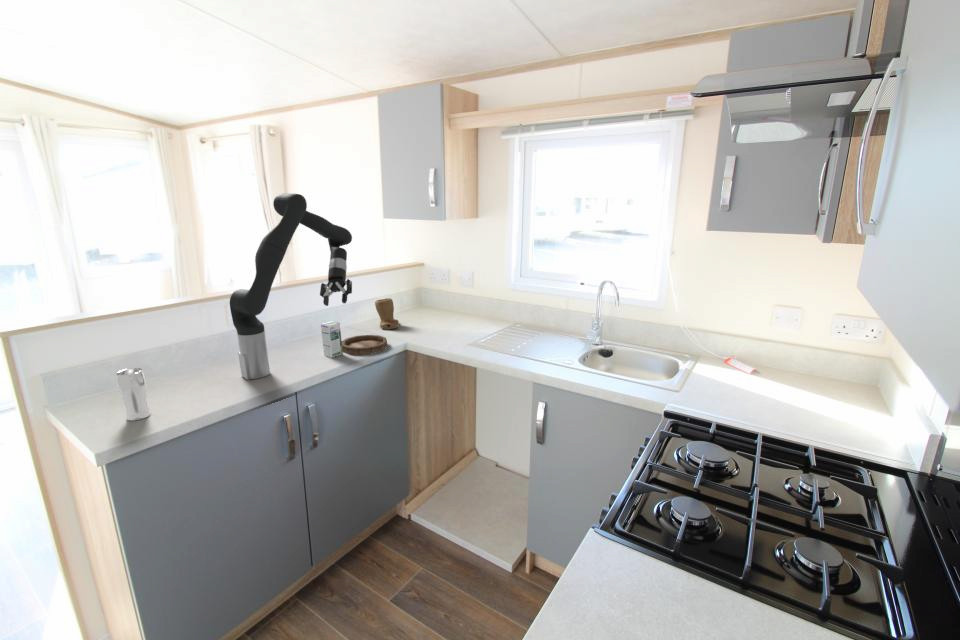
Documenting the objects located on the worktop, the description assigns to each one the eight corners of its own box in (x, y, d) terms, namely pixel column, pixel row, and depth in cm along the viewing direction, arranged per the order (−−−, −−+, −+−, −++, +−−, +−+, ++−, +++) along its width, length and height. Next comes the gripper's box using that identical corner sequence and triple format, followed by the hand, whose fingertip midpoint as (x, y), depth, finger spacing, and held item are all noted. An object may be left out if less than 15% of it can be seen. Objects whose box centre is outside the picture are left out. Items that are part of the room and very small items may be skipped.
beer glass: (119, 419, 140) (109, 373, 136) (142, 410, 146) (133, 366, 142) (134, 423, 137) (124, 377, 133) (157, 413, 143) (148, 369, 140)
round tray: (357, 358, 193) (356, 351, 192) (333, 347, 206) (332, 341, 206) (395, 347, 207) (395, 341, 206) (371, 338, 220) (370, 332, 220)
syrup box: (331, 358, 193) (328, 325, 189) (323, 355, 196) (320, 323, 193) (343, 354, 197) (340, 322, 194) (334, 352, 201) (331, 320, 197)
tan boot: (377, 323, 247) (375, 296, 244) (399, 322, 249) (398, 295, 245) (375, 331, 233) (373, 302, 229) (398, 330, 235) (397, 301, 231)
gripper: (318, 269, 200) (315, 303, 195) (347, 264, 197) (345, 298, 192) (327, 276, 207) (325, 309, 202) (356, 271, 204) (354, 305, 198)
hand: (335, 304), depth 197 cm, fingers open, 8 cm apart
